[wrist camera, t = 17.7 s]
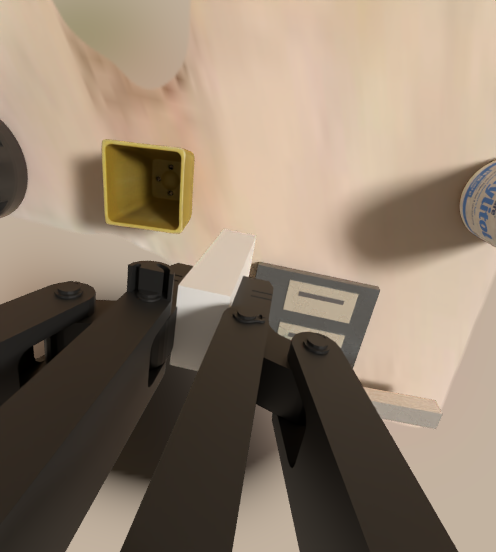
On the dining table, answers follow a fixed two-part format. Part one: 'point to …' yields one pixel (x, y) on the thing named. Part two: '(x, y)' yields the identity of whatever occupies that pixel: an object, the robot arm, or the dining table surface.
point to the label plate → (319, 306)
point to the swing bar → (405, 408)
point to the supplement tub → (481, 204)
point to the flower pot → (147, 186)
